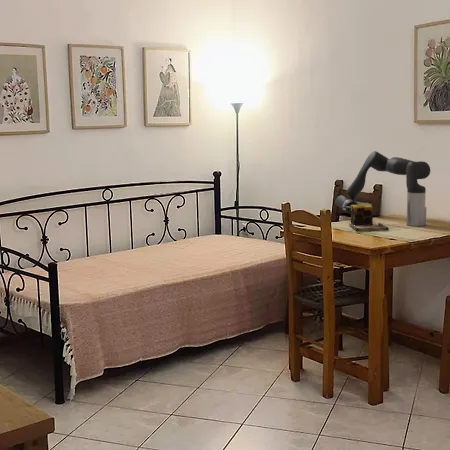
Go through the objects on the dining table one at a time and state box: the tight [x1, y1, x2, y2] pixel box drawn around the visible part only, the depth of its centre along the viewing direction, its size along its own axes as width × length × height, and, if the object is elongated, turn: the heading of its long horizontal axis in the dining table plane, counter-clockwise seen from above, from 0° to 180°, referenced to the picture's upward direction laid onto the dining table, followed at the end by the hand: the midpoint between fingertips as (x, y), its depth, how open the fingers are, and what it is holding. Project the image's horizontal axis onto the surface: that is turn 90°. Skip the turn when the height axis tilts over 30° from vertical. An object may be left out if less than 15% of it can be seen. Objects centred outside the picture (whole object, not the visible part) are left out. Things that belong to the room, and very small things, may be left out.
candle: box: [350, 204, 374, 226], centre depth 372 cm, size 10×10×10 cm
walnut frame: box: [348, 222, 389, 232], centre depth 358 cm, size 16×15×2 cm
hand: (357, 210), depth 380 cm, fingers closed
